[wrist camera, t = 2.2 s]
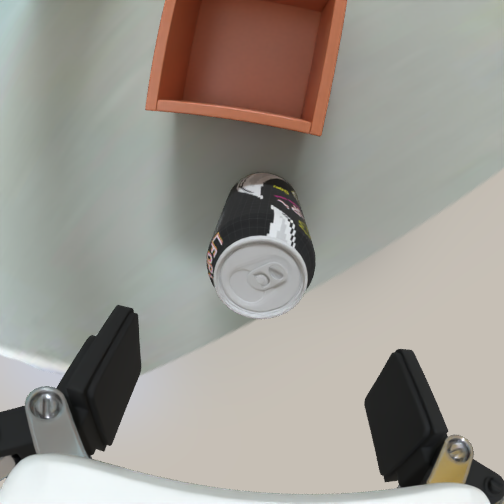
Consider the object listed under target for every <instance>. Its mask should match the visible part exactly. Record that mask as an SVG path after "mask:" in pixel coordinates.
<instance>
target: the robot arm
mask: <svg viewBox="0 0 504 504" xmlns="http://www.w3.org/2000/svg"><path fill="white" fill-rule="evenodd" d="M140 372H141V357H140V343H139V324H138V314H136V313H134V310H133V309H132V308H129V307H124V306H120V305H117V306H116V307H115V309H114V310H113V312H112V313H111V315H110V316H109V318H108V319H107V321H106V322H105V324H104V325H103V327H102V328H101V330H100V331H99V333H98V335H97V336H93V335H91V336H89V338H88V339H87V340H86V342H85V343H84V345H83V346H82V348H81V349H80V351H79V353H78V354H77V356H76V357H75V359H74V360H73V362H72V364H71V365H70V367H69V368H68V370H67V372H66V373H65V375H64V377H63V378H62V380H61V381H60V383H59V385H58V386H57V388H53V387H49V386H45V387H39V388H36V389H34V390H33V391H32V392H30V394H29V395H28V396H27V398H26V401H25V406H22V407H18V408H15V409H11V410H7V411H3V412H0V481H1V480H3V479H4V478H6V480H5V482H4V484H3V486H2V487H1V489H0V504H504V480H503V479H502V477H501V476H499V475H498V474H497V473H495V472H493V471H492V470H490V469H488V468H487V467H485V466H484V465H482V464H480V463H479V462H477V461H475V460H474V459H473V455H474V451H473V447H472V445H471V443H470V442H469V441H468V440H467V439H466V438H464V437H463V436H460V435H451V436H449V437H448V436H447V434H446V433H447V432H448V429H447V427H446V424H445V422H444V419H443V417H442V414H441V412H440V410H439V407H438V405H437V402H436V400H435V398H434V396H433V393H432V391H431V389H430V386H429V384H428V382H427V380H426V378H425V375H424V373H423V371H422V369H421V367H420V365H419V363H418V361H417V359H416V356H415V354H414V352H413V351H412V350H406V349H398V350H396V352H394V353H392V354H391V356H390V357H389V359H388V361H387V363H386V365H385V367H384V368H383V370H382V372H381V373H380V375H379V377H378V378H377V380H376V382H375V383H374V385H373V387H372V388H371V390H370V391H369V393H368V395H367V397H366V398H365V409H366V413H367V417H368V421H369V426H370V430H371V434H372V438H373V443H374V447H375V451H376V456H377V461H378V466H379V470H380V473H381V475H383V476H384V480H385V482H390V481H397V480H398V482H399V486H398V487H397V488H396V489H388V490H379V491H370V492H358V493H341V494H279V493H261V492H250V491H240V490H231V489H223V488H216V487H210V486H203V485H197V484H192V483H186V482H181V481H177V480H172V479H167V478H162V477H158V476H154V475H150V474H145V473H142V472H138V471H134V470H130V469H127V468H123V467H120V466H116V465H112V464H109V463H105V462H101V461H97V460H94V459H92V457H91V455H93V454H94V452H95V450H96V449H98V450H101V451H105V448H106V445H109V446H110V445H112V443H113V440H114V438H115V435H116V433H117V430H118V427H119V425H120V422H121V420H122V417H123V415H124V412H125V409H126V407H127V404H128V402H129V399H130V397H131V395H132V392H133V390H134V387H135V385H136V382H137V380H138V377H139V375H140Z"/></svg>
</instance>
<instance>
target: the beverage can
mask: <svg viewBox="0 0 504 504" xmlns="http://www.w3.org/2000/svg"><path fill="white" fill-rule="evenodd" d="M207 269H208V274H209V277H210V280H211V282H212V284H213V286H214V287H215V290H216V292H217V294H218V296H219V298H220V299H221V301H222V302H223V303H224V304H225V305H226V306H227V307H228V308H229V309H231V310H232V311H234V312H235V313H238V314H240V315H242V316H245V317H249V318H255V319H267V318H273V317H277V316H279V315H282V314H284V313H286V312H288V311H289V310H291V309H292V308H294V307H295V306H296V305H297V304H298V303H299V301H300V300H301V299H302V297H303V295H304V293H305V291H306V289H307V288H308V287H309V285H310V283H311V280H312V278H313V275H314V271H315V252H314V248H313V244H312V241H311V238H310V235H309V232H308V229H307V225H306V222H305V219H304V216H303V213H302V210H301V207H300V204H299V201H298V198H297V195H296V193H295V191H294V189H293V188H292V187H291V186H290V184H289V183H287V182H286V181H285V180H284V179H282V178H280V177H278V176H276V175H273V174H269V173H256V174H252V175H249V176H247V177H245V178H243V179H241V180H240V181H239V182H238V183H237V184H236V185H235V186H234V187H233V188H232V190H231V192H230V194H229V196H228V198H227V201H226V203H225V206H224V208H223V211H222V213H221V216H220V219H219V221H218V224H217V226H216V229H215V231H214V234H213V237H212V239H211V242H210V245H209V249H208V253H207Z"/></svg>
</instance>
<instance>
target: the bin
mask: <svg viewBox="0 0 504 504" xmlns="http://www.w3.org/2000/svg"><path fill="white" fill-rule="evenodd" d="M346 5H347V0H165V4H164V8H163V12H162V17H161V21H160V26H159V31H158V36H157V40H156V46H155V51H154V56H153V62H152V68H151V74H150V80H149V87H148V94H147V101H146V108H145V110H149V111H163V112H174V113H184V114H193V115H202V116H210V117H217V118H224V119H231V120H238V121H244V122H250V123H256V124H262V125H267V126H273V127H278V128H283V129H288V130H293V131H298V132H302V133H307V134H312V135H316V136H321V135H322V130H323V126H324V121H325V116H326V111H327V107H328V102H329V97H330V92H331V87H332V82H333V77H334V72H335V66H336V61H337V56H338V50H339V45H340V39H341V34H342V28H343V22H344V17H345V11H346Z"/></svg>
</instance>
